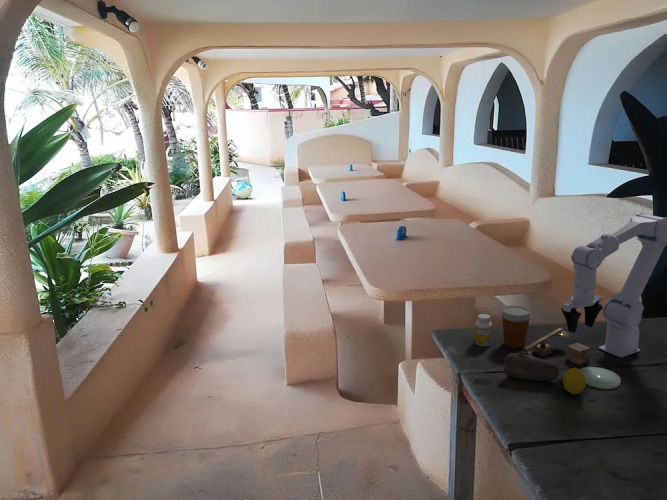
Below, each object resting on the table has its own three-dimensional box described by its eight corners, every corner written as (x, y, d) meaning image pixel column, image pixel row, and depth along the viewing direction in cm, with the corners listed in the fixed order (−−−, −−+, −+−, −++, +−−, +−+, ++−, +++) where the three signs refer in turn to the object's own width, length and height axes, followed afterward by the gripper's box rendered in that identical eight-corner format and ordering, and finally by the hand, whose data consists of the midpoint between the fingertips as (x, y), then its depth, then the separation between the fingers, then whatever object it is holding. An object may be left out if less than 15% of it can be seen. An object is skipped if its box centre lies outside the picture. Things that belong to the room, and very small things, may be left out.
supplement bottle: (478, 338, 179) (479, 311, 176) (493, 342, 175) (495, 315, 173) (472, 344, 174) (473, 317, 172) (488, 348, 171) (489, 320, 169)
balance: (558, 342, 173) (560, 324, 172) (571, 348, 169) (573, 329, 167) (512, 357, 164) (513, 337, 163) (524, 363, 160) (526, 343, 158)
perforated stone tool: (558, 378, 151) (560, 356, 149) (558, 387, 146) (560, 364, 144) (504, 370, 156) (505, 349, 155) (502, 379, 152) (503, 357, 150)
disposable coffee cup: (493, 344, 174) (495, 310, 170) (508, 336, 180) (510, 303, 177) (520, 353, 167) (522, 318, 164) (534, 344, 173) (537, 310, 170)
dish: (594, 366, 157) (594, 363, 156) (629, 382, 147) (629, 378, 147) (568, 376, 152) (569, 372, 151) (603, 392, 142) (603, 389, 142)
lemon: (578, 388, 145) (580, 362, 143) (588, 399, 139) (590, 372, 137) (558, 389, 145) (560, 363, 143) (567, 400, 139) (570, 373, 137)
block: (576, 355, 164) (577, 342, 163) (588, 361, 160) (590, 348, 159) (566, 359, 162) (567, 345, 161) (578, 365, 158) (579, 351, 157)
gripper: (588, 278, 162) (585, 319, 165) (555, 287, 155) (552, 329, 159) (609, 284, 155) (605, 327, 159) (576, 293, 149) (572, 337, 153)
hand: (580, 328), depth 158 cm, fingers open, 7 cm apart
